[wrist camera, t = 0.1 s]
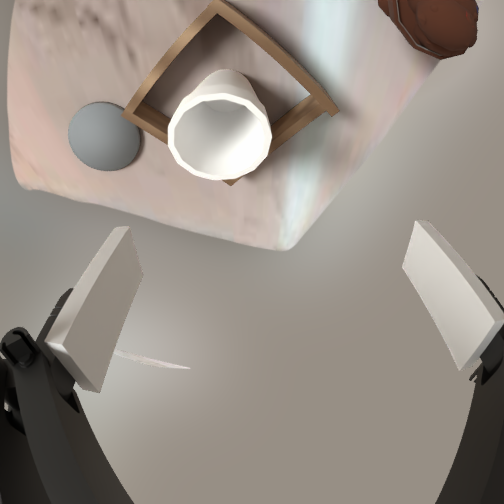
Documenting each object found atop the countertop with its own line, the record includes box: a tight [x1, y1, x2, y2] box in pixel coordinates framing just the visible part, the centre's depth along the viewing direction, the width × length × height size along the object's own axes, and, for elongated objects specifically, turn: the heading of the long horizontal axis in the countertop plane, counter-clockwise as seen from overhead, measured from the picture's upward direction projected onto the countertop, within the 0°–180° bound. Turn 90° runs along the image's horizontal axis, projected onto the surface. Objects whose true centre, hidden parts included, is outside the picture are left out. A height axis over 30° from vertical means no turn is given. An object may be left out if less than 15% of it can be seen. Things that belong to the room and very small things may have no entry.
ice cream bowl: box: [378, 0, 479, 60], centre depth 15 cm, size 11×11×15 cm
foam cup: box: [168, 69, 272, 180], centre depth 28 cm, size 10×9×13 cm
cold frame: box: [121, 0, 339, 186], centre depth 30 cm, size 18×18×6 cm
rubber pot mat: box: [68, 102, 140, 171], centre depth 35 cm, size 12×12×1 cm
